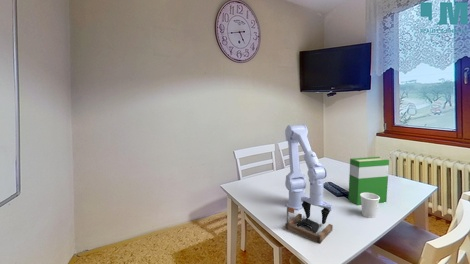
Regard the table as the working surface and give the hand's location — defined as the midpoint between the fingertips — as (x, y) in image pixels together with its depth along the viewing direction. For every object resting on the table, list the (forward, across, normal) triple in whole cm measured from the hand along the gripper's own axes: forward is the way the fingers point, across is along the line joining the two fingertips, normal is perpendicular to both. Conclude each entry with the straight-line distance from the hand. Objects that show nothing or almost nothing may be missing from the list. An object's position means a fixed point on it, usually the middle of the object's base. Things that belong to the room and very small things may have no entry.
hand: (315, 220), depth 106 cm
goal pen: (+1, 0, +7) cm, 7 cm away
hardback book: (+2, -10, -41) cm, 42 cm away
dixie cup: (+2, -15, -24) cm, 29 cm away
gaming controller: (+2, 0, +6) cm, 6 cm away
